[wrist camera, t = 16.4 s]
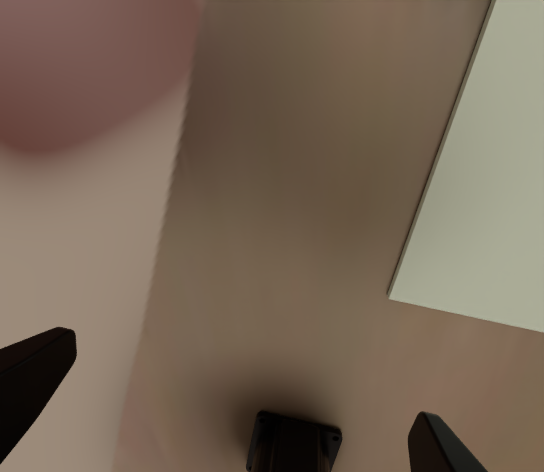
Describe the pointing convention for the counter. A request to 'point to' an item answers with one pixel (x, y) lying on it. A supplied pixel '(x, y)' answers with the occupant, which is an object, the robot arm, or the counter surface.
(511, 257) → the sage mat
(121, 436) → the counter surface
